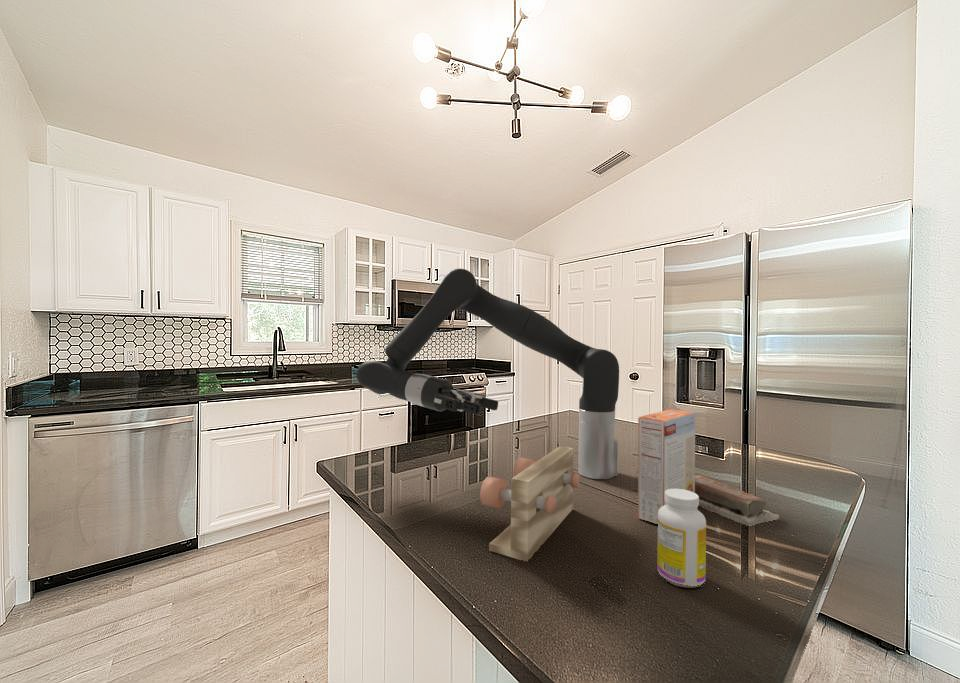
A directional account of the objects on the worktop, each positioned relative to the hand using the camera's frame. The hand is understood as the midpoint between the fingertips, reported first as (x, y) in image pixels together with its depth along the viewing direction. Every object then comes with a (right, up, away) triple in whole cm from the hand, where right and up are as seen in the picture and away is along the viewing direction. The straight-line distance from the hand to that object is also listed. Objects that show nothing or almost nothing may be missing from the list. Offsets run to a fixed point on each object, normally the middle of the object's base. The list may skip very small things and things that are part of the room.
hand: (489, 407), depth 92 cm
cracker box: (+36, -21, -6) cm, 43 cm away
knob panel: (+8, -21, -13) cm, 26 cm away
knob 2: (+12, -15, -6) cm, 20 cm away
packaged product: (+51, -22, -1) cm, 55 cm away
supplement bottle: (+28, -21, -29) cm, 46 cm away
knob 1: (+5, -15, -18) cm, 25 cm away
